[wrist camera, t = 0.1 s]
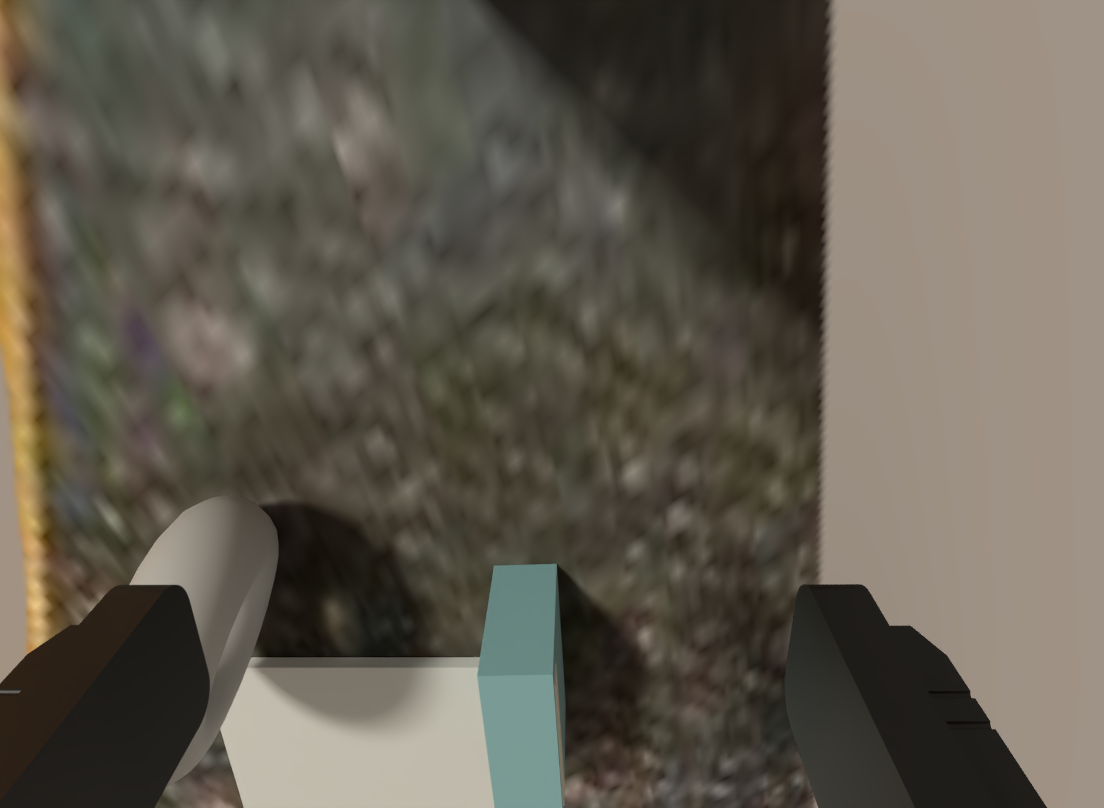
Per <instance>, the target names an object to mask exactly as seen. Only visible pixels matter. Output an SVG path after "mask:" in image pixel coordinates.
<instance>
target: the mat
mask: <svg viewBox="0 0 1104 808" xmlns="http://www.w3.org/2000/svg"><path fill="white" fill-rule="evenodd" d="M479 661H480V657H251V659H250V662H249V664H248V667H247V669H246V672H245V674H244V677H243V679H242V682H241V685H240V687H239V689H238V691H237V694H236V696H235V698H234V700H233V703H232V705H231V707H230V709H229V712H228V714H227V716H226V718H225V720H224V722H223V724H222V726H221V728H220V729H221V733H222V736H223V739H224V743H225V746H226V749H227V753H228V756H229V759H230V763H231V766H232V769H233V773H234V776H235V779H236V783H237V786H238V789H239V793H240V796H241V799H242V803H243V806H244V808H495V807H494V799H493V792H492V784H491V777H490V769H489V762H488V754H487V747H486V739H485V732H484V724H483V717H482V709H481V702H480V694H479V687H478V679H477V674H478V667H479Z"/></svg>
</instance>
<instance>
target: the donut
mask: <svg viewBox="0 0 1104 808" xmlns="http://www.w3.org/2000/svg"><path fill="white" fill-rule="evenodd" d="M278 556H279V545H278V536H277V529H276V528H275V526H274V524H273V522H272V520H271V518H270V517H269V516H268V515H267V514H266V513H265V512H264V511H263V510H262V509H261V508H260V507H259V506H258V505H257V504H255V503H254V502H252V501H250V500H247V499H245V498H243V497H238V496H229V495H225V496H219V497H214V498H210V499H208V500H206V501H203V502H201V503H199V504H197V505H195V506H193V507H191V508H189V509H187V510H185V511H184V512H183V513H182V514H181V515H180V516H179V517H178V518H177V519H176V520H175V521H174V522H173V523H172V524H171V525H170V526H169V527H168V529H167V530H166V531H165V532H164V533H163V534H162V535H161V536H160V537H159V538H158V539H157V541H156V542H155V544H154V545H153V547H152V548H151V550H150V551H149V553H148V554H147V556H146V557H145V559H144V560H143V562H142V563H141V565H140V566H139V568H138V570H137V572H136V573H135V575H134V577H133V579H132V581H131V583H130V585H180V586H181V587H183V588H184V589H185V591H186V592H187V594H188V597H189V600H190V603H191V607H192V611H193V614H194V618H195V622H196V626H197V630H198V633H199V637H200V641H201V645H202V649H203V652H204V656H205V660H206V664H207V667H208V671H209V677H210V693H209V701H208V705H207V709H206V713H205V716H204V718H203V721H202V723H201V725H200V727H199V729H198V731H197V732H196V734H195V736H194V738H193V739H192V741H191V743H190V745H189V747H188V748H187V750H186V752H185V754H184V756H183V757H182V759H181V761H180V763H179V764H178V766H177V768H176V770H175V772H174V773H173V775H172V777H171V779H170V781H169V782H168V784H167V786H166V787H168V786H170V785H171V784H173V783H174V782H176V781H178V780H179V779H181V778H182V777H184V776H185V775H186V774H188V773H189V772H190V771H191V770H192V769H193V768H194V767H195V766H196V765H197V764H198V763H199V762H200V760H201V759H202V758H203V757H204V755H205V754H206V752H207V751H208V749H209V748H210V746H211V745H212V743H213V741H214V739H215V738H216V736H217V734H218V732H219V730H220V728H221V726H222V724H223V722H224V720H225V718H226V716H227V714H228V712H229V709H230V707H231V705H232V703H233V700H234V698H235V696H236V694H237V691H238V689H239V687H240V685H241V682H242V679H243V677H244V674H245V672H246V669H247V667H248V664H249V662H250V659H251V656H252V653H253V650H254V648H255V645H256V642H257V639H258V636H259V633H260V630H261V627H262V624H263V620H264V617H265V614H266V610H267V607H268V603H269V599H270V595H271V591H272V587H273V583H274V579H275V575H276V569H277V562H278Z"/></svg>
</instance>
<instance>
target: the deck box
mask: <svg viewBox="0 0 1104 808" xmlns="http://www.w3.org/2000/svg"><path fill="white" fill-rule="evenodd" d="M477 679H478V687H479V694H480V702H481V709H482V717H483V724H484V732H485V739H486V747H487V754H488V762H489V769H490V777H491V784H492V792H493V799H494V807H495V808H564V784H565V782H564V777H565V711H566V701H565V686H564V670H563V654H562V638H561V623H560V607H559V591H558V576H557V564H539V565H509V566H494V570H493V577H492V583H491V590H490V596H489V603H488V609H487V615H486V622H485V628H484V635H483V641H482V648H481V654H480V661H479V667H478V674H477Z"/></svg>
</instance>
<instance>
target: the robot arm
mask: <svg viewBox="0 0 1104 808" xmlns="http://www.w3.org/2000/svg"><path fill="white" fill-rule="evenodd" d="M209 693H210V677H209V671H208V667H207V664H206V660H205V656H204V652H203V649H202V645H201V641H200V637H199V633H198V630H197V626H196V622H195V618H194V614H193V611H192V607H191V603H190V600H189V597H188V594H187V592H186V591H185V589H184V588H183V587H181V586H180V585H118V586H116V587H114V588H112V589H111V590H110V591H109V592H108V593H107V594H106V595H105V596H104V597H103V598H102V599H101V601H100V602H99V603H98V604H97V605H96V606H95V607H94V609H93V610H92V611H91V612H90V613H89V614H88V615H87V616H86V618H85V619H84V620H83V621H82V622H81V623H80V624H79V625H70V626H69V627H67V628H66V629H64V630H63V631H61V632H60V633H58V634H57V635H55V636H54V637H52V638H51V639H49V640H48V641H46V642H45V643H43V644H42V645H40V646H39V647H38V648H36V649H35V650H33V651H32V652H30V653H29V654H27V655H26V656H25V657H24V659H23V660H22V661H21V662H20V663H19V664H18V665H17V666H16V667H15V668H14V669H13V670H12V672H11V673H10V674H9V675H8V676H7V677H6V678H5V679H4V680H3V681H2V682H1V684H0V808H154V807H155V806H156V804H157V802H158V800H159V798H160V797H161V795H162V793H163V791H164V789H165V788H166V786H167V784H168V782H169V781H170V779H171V777H172V775H173V773H174V772H175V770H176V768H177V766H178V764H179V763H180V761H181V759H182V757H183V756H184V754H185V752H186V750H187V748H188V747H189V745H190V743H191V741H192V739H193V738H194V736H195V734H196V732H197V731H198V729H199V727H200V725H201V723H202V721H203V718H204V716H205V713H206V709H207V705H208V701H209ZM785 701H786V709H787V714H788V719H789V723H790V727H791V730H792V733H793V736H794V739H795V741H796V744H797V747H798V750H799V753H800V756H801V759H802V762H803V765H804V767H805V770H806V773H807V776H808V779H809V782H810V785H811V788H812V791H813V793H814V796H815V799H816V802H817V805H818V808H1047V807H1046V805H1045V804H1044V802H1043V801H1042V799H1041V798H1040V796H1039V795H1038V793H1037V792H1036V790H1035V789H1034V787H1033V786H1032V784H1031V783H1030V781H1029V780H1028V778H1027V777H1026V775H1025V774H1024V772H1023V771H1022V769H1021V768H1020V766H1019V764H1018V763H1017V761H1016V760H1015V758H1014V757H1013V755H1012V754H1011V752H1010V751H1009V749H1008V748H1007V746H1006V745H1005V743H1004V742H1003V740H1002V739H1001V737H1000V736H999V734H998V733H997V731H996V730H995V729H991V726H990V720H989V719H988V718H987V716H986V714H985V713H984V711H983V710H982V708H981V707H980V705H979V704H978V702H977V701H976V699H974V698H971V696H970V690H969V688H968V687H967V685H966V684H965V683H964V681H963V679H962V678H961V676H960V675H959V673H958V672H957V670H956V669H955V667H954V666H953V664H952V663H951V661H950V660H949V658H948V656H947V655H946V654H944V653H943V652H942V651H941V650H939V649H938V648H937V647H936V646H935V645H933V644H932V643H931V642H930V641H928V640H927V639H926V638H925V637H924V636H922V635H921V634H920V633H919V632H917V631H916V630H915V629H914V628H913V627H911V626H889V624H888V623H887V621H886V619H885V617H884V616H883V614H882V613H881V611H880V609H879V607H878V606H877V604H876V602H875V601H874V599H873V597H872V596H871V594H870V592H869V591H868V589H867V588H866V587H865V586H863V585H858V584H856V585H852V584H851V585H802V586H801V587H800V588H799V590H798V593H797V597H796V603H795V609H794V616H793V623H792V630H791V637H790V644H789V651H788V658H787V665H786V671H785Z"/></svg>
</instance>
